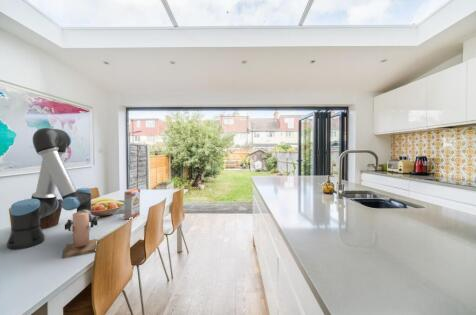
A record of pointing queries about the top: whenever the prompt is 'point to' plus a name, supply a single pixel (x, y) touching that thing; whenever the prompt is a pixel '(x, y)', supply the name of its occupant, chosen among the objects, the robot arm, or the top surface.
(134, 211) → the cracker box
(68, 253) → the cutting board
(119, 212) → the grey carved relief
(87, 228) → the terracotta canister
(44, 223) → the brown tapered bucket
